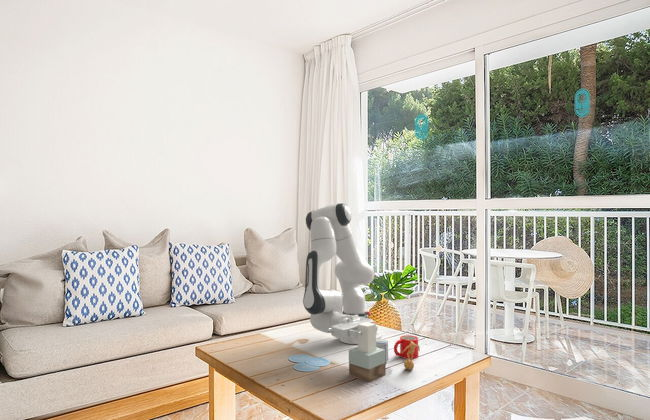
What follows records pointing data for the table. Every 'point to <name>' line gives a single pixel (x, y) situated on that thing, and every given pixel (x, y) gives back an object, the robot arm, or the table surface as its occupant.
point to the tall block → (367, 337)
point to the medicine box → (383, 347)
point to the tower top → (367, 358)
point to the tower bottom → (367, 372)
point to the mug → (404, 343)
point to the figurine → (409, 363)
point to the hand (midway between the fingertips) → (368, 331)
